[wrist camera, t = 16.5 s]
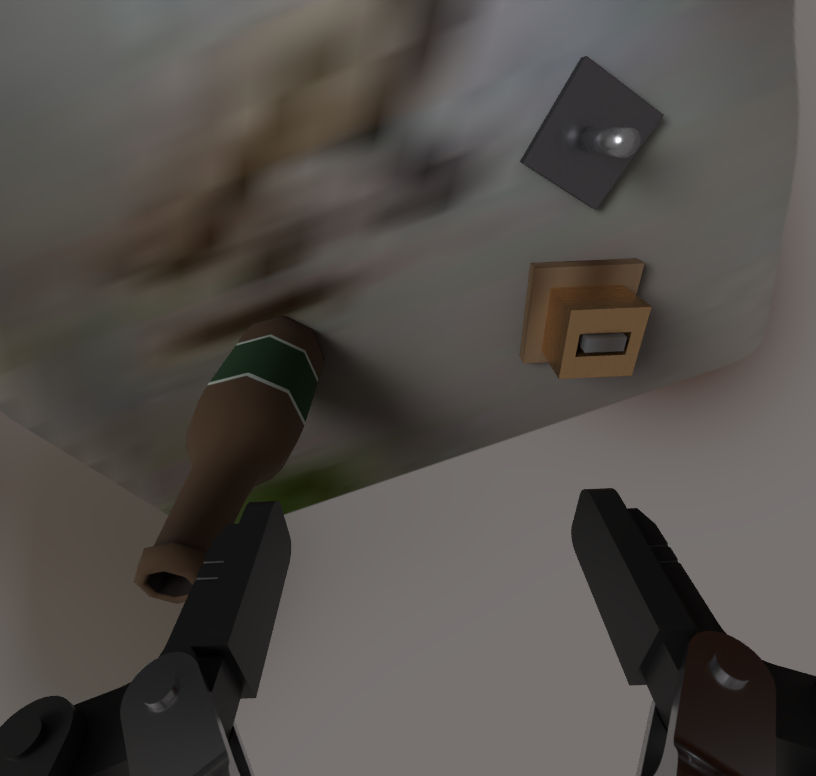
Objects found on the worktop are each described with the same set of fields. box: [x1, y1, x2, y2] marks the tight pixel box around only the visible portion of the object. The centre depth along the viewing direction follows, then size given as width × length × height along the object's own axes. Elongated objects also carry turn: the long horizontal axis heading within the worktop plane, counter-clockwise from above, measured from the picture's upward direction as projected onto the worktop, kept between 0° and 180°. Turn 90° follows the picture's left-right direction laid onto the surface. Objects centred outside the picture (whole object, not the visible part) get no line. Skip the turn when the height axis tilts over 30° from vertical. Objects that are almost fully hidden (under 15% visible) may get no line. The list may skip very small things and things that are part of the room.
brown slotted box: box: [541, 285, 652, 379], centre depth 35 cm, size 6×6×5 cm
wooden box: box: [520, 258, 645, 363], centre depth 35 cm, size 9×9×7 cm
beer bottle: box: [134, 316, 324, 603], centre depth 30 cm, size 8×8×24 cm
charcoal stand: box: [520, 56, 663, 209], centre depth 28 cm, size 7×7×6 cm
